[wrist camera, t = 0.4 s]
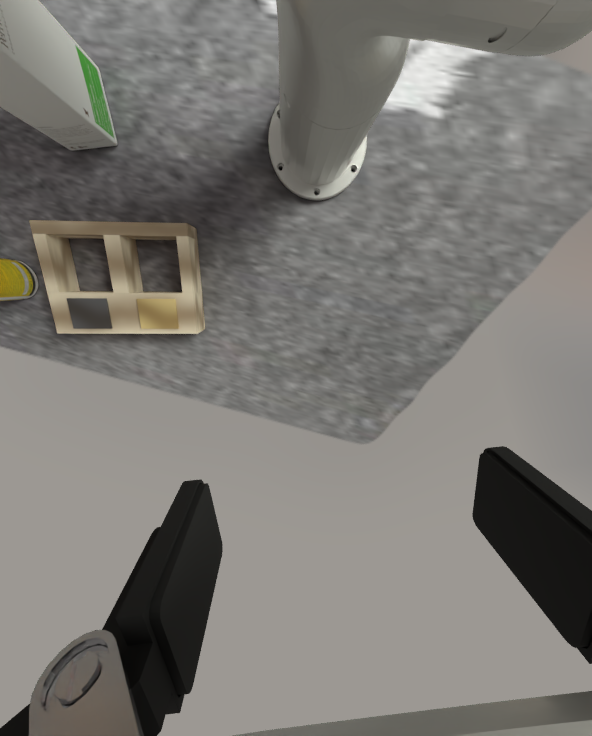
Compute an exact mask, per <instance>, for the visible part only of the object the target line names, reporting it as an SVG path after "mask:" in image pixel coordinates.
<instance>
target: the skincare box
mask: <svg viewBox="0 0 592 736" xmlns="http://www.w3.org/2000/svg"><path fill="white" fill-rule="evenodd" d="M0 107H1V108H3V109H4V110H6V111H7V112H9V113H11V114H12V115H14V116H16V117H17V118H19V119H20V120H22V121H24V122H25V123H27V124H29V125H30V126H32V127H33V128H35V129H37V130H38V131H40V132H42V133H43V134H45V135H47V136H48V137H50V138H51V139H53V140H54V141H56V142H58V143H59V144H61V145H63V146H64V147H66V148H67V149H69V150H71V151H74V150H83V149H92V148H100V147H108V146H117V144H118V143H117V139H116V135H115V132H114V127H113V122H112V118H111V114H110V110H109V107H108V103H107V99H106V95H105V91H104V87H103V83H102V78H101V74H100V70H99V68H98V67H97V65H96V64H95V63H94V62H93V61H92V60H91V59H90V58H89V56H88V55H87V54H86V53H85V52H84V51H83V50H82V49H81V47H80V46H79V45H78V44H77V43H76V42H75V41H74V39H73V38H72V37H71V36H70V35H69V34H68V33H67V32H66V30H65V29H64V28H63V27H62V26H61V25H60V24H59V23H58V21H57V20H56V19H55V18H54V17H53V16H52V15H51V13H50V12H49V11H48V10H47V9H46V8H45V7H44V6H43V4H42V3H41V2H40V1H39V0H0Z"/></svg>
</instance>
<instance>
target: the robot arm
mask: <svg viewBox="0 0 592 736" xmlns="http://www.w3.org/2000/svg"><path fill="white" fill-rule="evenodd" d="M276 3H277V15H278V40H279V90H280V102H279V104H278V105H277V107H276V109H275V111H274V114H273V116H272V118H271V123H270V127H269V136H268V145H269V153H270V159H271V162H272V165H273V168H274V171H275V172H276V174H277V176H278V178H279V179H280V181H281V182H282V183H283V184H284V186H285V187H286V188H287V189H289V190H290V191H291V192H292V193H294V194H296V195H297V196H299V197H301V198H305V199H308V200H317V201H318V200H326V199H329V198H332V197H334V196H336V195H338V194H340V193H341V192H343V191H344V190H345V189H346V188H347V187H348V186H349V185H350V184H351V183H352V182H353V180H354V179H355V177H356V176H357V174H358V173H359V171H360V169H361V166H362V164H363V162H364V158H365V154H366V149H367V133H368V131H369V130H370V128H371V126H372V125H373V123H374V121H375V119H376V118H377V116H378V114H379V113H380V111H381V109H382V107H383V106H384V104H385V102H386V100H387V99H388V97H389V95H390V93H391V91H392V90H393V88H394V86H395V84H396V82H397V80H398V78H399V76H400V73H401V71H402V68H403V66H404V62H405V59H406V55H407V51H408V47H409V41H410V39H413V40H418V41H424V40H428V41H434V42H439V43H444V44H450V45H455V46H461V47H466V48H472V49H477V50H482V51H488V52H493V53H502V54H508V55H516V56H541V55H546V54H550V53H553V52H556V51H559V50H561V49H564V48H566V47H568V46H569V45H571V44H573V43H574V42H576V41H578V40H579V39H581V38H583V37H584V36H586V35H587V34H588V33H590V32H591V31H592V0H276ZM279 116H280V118H278V117H279ZM279 167H282V170H281V171H280V170H279ZM351 169H353V170H354V172H351ZM315 192H317V193H318V195H315V194H314V193H315ZM473 520H474V522H475V524H476V526H477V527H478V529H479V530H480V531H481V533H482V534H483V535H484V536H485V538H486V539H487V540H488V542H489V543H490V544H491V545H492V547H493V548H494V549H495V551H496V552H497V553H498V554H499V556H500V557H501V558H502V559H503V561H504V562H505V563H506V564H507V566H508V567H509V568H510V570H511V571H512V572H513V574H514V575H515V576H516V577H517V579H518V580H519V581H520V582H521V584H522V585H523V586H524V588H525V589H526V590H527V591H528V593H529V594H530V595H531V597H532V598H533V599H534V600H535V602H536V603H537V604H538V606H539V607H540V608H541V609H542V611H543V612H544V613H545V614H546V616H547V617H548V618H549V620H550V621H551V622H552V623H553V625H554V626H555V627H556V628H557V630H558V631H559V632H560V634H561V635H562V636H563V638H564V639H565V640H566V641H567V642H568V643H569V644H570V645H571V646H573V647H575V648H578V650H579V651H580V652H581V654H582V655H583V656H584V657H585V659H586V660H587V661H588V662H589V664H592V511H591V510H590V509H588V508H587V507H586V506H584V505H583V504H582V503H580V502H579V501H578V500H576V499H575V498H574V497H572V496H571V495H570V494H568V493H567V492H566V491H564V490H563V489H562V488H561V487H559V486H558V485H556V484H555V483H554V482H552V481H551V480H550V479H549V478H547V477H546V476H544V475H543V474H542V473H541V472H539V471H538V470H536V469H535V468H534V467H533V466H531V465H530V464H529V463H527V462H526V461H525V460H523V459H522V458H520V457H519V456H518V455H517V454H515V453H514V452H513V451H511V450H510V449H508V448H507V447H503V446H502V447H493V448H487V449H485V450H484V452H483V453H482V454H481V455H480V458H479V467H478V474H477V482H476V491H475V499H474V507H473ZM221 557H222V540H221V536H220V532H219V527H218V523H217V519H216V514H215V510H214V506H213V501H212V497H211V493H210V489H209V485H208V484H204V483H203V481H202V480H193V481H185V482H183V483H182V485H181V487H180V489H179V491H178V493H177V495H176V497H175V499H174V501H173V504H172V505H171V507H170V509H169V511H168V513H167V515H166V517H165V519H164V521H163V523H162V525H161V527H158V528H156V529H155V530H154V531H153V533H152V534H151V536H150V538H149V540H148V542H147V544H146V546H145V548H144V550H143V552H142V554H141V556H140V557H139V559H138V561H137V563H136V565H135V567H134V569H133V571H132V573H131V575H130V577H129V579H128V581H127V583H126V585H125V586H124V588H123V590H122V593H121V594H120V596H119V598H118V600H117V602H116V604H115V606H114V608H113V610H112V612H111V614H110V616H109V618H108V619H107V621H106V623H105V625H104V627H103V629H102V630H95V631H92V632H89V633H86V634H84V635H82V636H81V637H79V638H77V639H76V640H74V641H72V642H71V643H70V644H69V645H67V646H66V647H65V648H64V649H63V650H61V651H60V652H59V654H58V655H57V656H56V657H55V658H54V659H53V660H52V661H51V662H50V663H49V665H48V666H47V667H46V669H45V670H44V672H43V674H42V675H41V677H40V678H39V680H38V682H37V684H36V686H35V688H34V691H33V693H32V696H31V701H30V704H29V705H28V706H26V707H25V708H24V709H23V710H22V711H20V712H19V713H18V714H17V715H16V716H15V717H13V718H12V719H11V720H10V721H8V722H7V723H6V724H5V725H4V726H2V728H0V736H157V735H158V734H159V732H160V731H161V729H162V725H163V722H164V718H165V714H173V713H180V711H181V706H182V702H183V698H184V694H189V693H190V692H191V689H192V686H193V682H194V678H195V674H196V669H197V665H198V660H199V656H200V651H201V647H202V642H203V638H204V633H205V629H206V624H207V620H208V615H209V611H210V606H211V602H212V597H213V593H214V588H215V584H216V579H217V574H218V570H219V566H220V561H221ZM234 736H592V691H588V692H580V693H571V694H562V695H553V696H545V697H536V698H527V699H518V700H509V701H501V702H493V703H484V704H476V705H468V706H459V707H451V708H443V709H434V710H426V711H417V712H410V713H401V714H393V715H385V716H377V717H369V718H361V719H353V720H346V721H337V722H330V723H321V724H314V725H306V726H299V727H290V728H282V729H274V730H267V731H260V732H253V733H247V734H240V735H234Z"/></svg>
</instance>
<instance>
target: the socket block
mask: <svg viewBox="0 0 592 736" xmlns="http://www.w3.org/2000/svg"><path fill="white" fill-rule="evenodd" d="M29 222H30V226H31V230H32V234H33V238H34V242H35V246H36V250H37V254H38V258H39V262H40V266H41V270H42V274H43V278H44V282H45V286H46V290H47V294H48V298H49V302H50V306H51V310H52V313H53V317H54V321H55V325H56V329H57V333H58V334H198V333H200V332H201V331H203V330H204V329H205V320H204V309H203V298H202V286H201V275H200V264H199V253H198V241H197V230H196V228H194V227H193V226H191V225H189V224H187V223H149V222H96V221H44V220H29ZM69 238H81V239H104V243H105V248H106V254H107V259H108V265H109V270H110V276H111V281H112V287H113V291H80V289H79V284H78V280H77V275H76V270H75V266H74V261H73V257H72V252H71V247H70V243H69ZM135 239H142V240H177V248H178V257H179V266H180V276H181V285H182V292H145V291H143V286H142V280H141V273H140V266H139V260H138V253H137V246H136V240H135Z"/></svg>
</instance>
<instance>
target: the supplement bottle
mask: <svg viewBox="0 0 592 736" xmlns="http://www.w3.org/2000/svg"><path fill="white" fill-rule="evenodd" d="M37 290H38V279H37V277H36V274H35V273H34V271H33V270H32V269H31V268H30V267H29V266H28V265H26V264H25V263H23V262H21V261H18V260H13V259H1V258H0V301H6V300H20V299H28V298H30V297H32V296H33V295H35V293H36V292H37Z"/></svg>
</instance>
